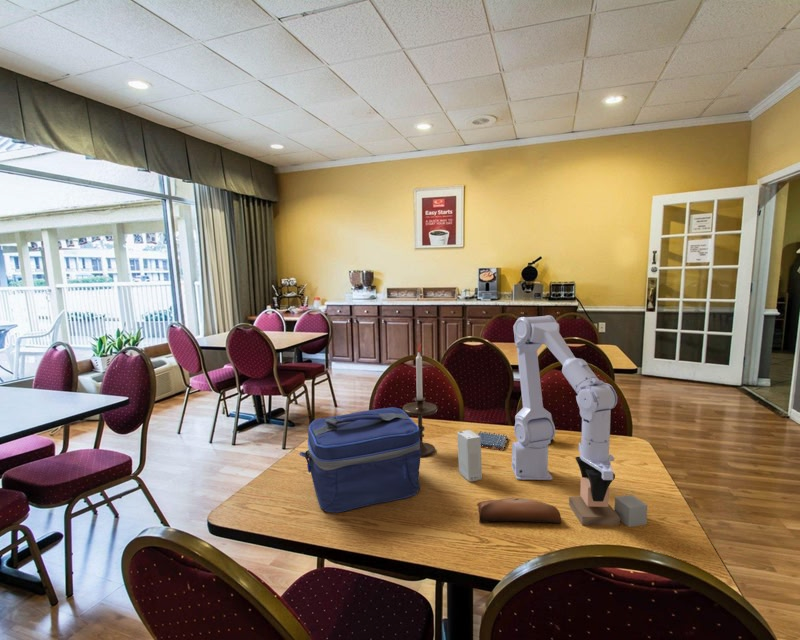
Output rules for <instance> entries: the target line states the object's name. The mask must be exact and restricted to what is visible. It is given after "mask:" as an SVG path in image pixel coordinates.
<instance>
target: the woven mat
mask: <svg viewBox="0 0 800 640" xmlns="http://www.w3.org/2000/svg"><path fill="white" fill-rule="evenodd" d="M477 435H478V436H480V437H481V447H483V449H485V448H484V447H488V448H492V449H491V450H495V449H498V451H502V450H505V448H504V447H506V446H507V445H506V444H507V443H508V440H509V437H508V435H507V434H506V435H505V433H504V434H501V433H497V434H496V433H495V432H494V433H491V432H489V433H488V432H487V431H484V432H482V431H481V430H479V432H478V433H477ZM504 437H505V438H504ZM506 439H508V440H506ZM500 440H501V441H500ZM505 443H506V444H505ZM493 444H494V445H493ZM482 445H484V446H482ZM495 446H496V447H495ZM498 447H499V448H498ZM488 448H487V449H488ZM500 448H501V449H500ZM499 449H500V450H499Z"/></svg>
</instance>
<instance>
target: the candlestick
mask: <svg viewBox="0 0 800 640" xmlns="http://www.w3.org/2000/svg"><path fill="white" fill-rule="evenodd" d="M421 347H422V343H420V344H419V346H418V348H417V355H416V357H415V367H416V368H415V369H416V370H415V371H416V372H415V374H416V375H415V376H416V382H415V383H416V397H414V398H413V400H414V401H413V402H412V401H411V402H408V403H405V404H404V405H403V406H402V411H404V412H405V413H406V414H407V415H408V416H415V417H417V426H418V427H419V430H420V436H419V437H420V448H421V458H424V457H425V458H426V457H430V456H432V455H434V454H435V452H436V451H435V450H436V447H435V445H433V444H431V443H428V442H423V440H424V439H423V438H424V437H425V434H424V433H423V432H424V431H425V426H424V425H423V417H425V416H427V417H428V416H430V415H434V414H436V413H437V411H438V406H437V405H436V404H435V403H433V402H430V401H429V402H427V401H426V400H427V398H426V397H423V391H424V390H423V356H421Z"/></svg>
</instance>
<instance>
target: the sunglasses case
mask: <svg viewBox="0 0 800 640" xmlns="http://www.w3.org/2000/svg"><path fill="white" fill-rule="evenodd" d="M476 506H477V508H478V517H479V523H481V522H482V523H486V522H489V523H490V522H492V523H493V522H508V521H511V522H533V523H541V522H542V523H554V524H561V523H562V518H561V517H562V516H561V513H560V510H559V509H558V508H557V507H556V506H554V505H551V504H549V503H546V502H543V501H538V500H535V499H529V498H521V497H520V498H518V497H513V498H511V497H505V498H500V499H490V500H482V501H479V502H477V504H476Z"/></svg>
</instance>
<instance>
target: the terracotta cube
mask: <svg viewBox="0 0 800 640" xmlns="http://www.w3.org/2000/svg"><path fill="white" fill-rule="evenodd" d="M579 488H580V492H579V493H580V494H579V495H580V496H579V497H582V499H583V500H584V502H585V503H586V505H587V506H591V507H608V503H609V500H610V498H609V497H610V486H609V487H608V489H607V492H606V495H605V498H604V500H603V501H593V498H592V494H591V485H590V481H589V478H586V477H582V476H581V477H580V487H579ZM609 504H610V503H609Z"/></svg>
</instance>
